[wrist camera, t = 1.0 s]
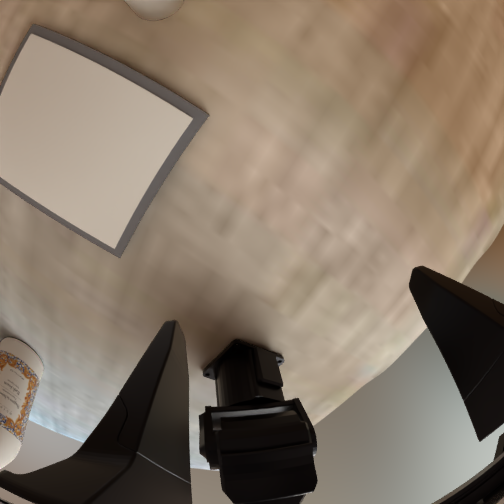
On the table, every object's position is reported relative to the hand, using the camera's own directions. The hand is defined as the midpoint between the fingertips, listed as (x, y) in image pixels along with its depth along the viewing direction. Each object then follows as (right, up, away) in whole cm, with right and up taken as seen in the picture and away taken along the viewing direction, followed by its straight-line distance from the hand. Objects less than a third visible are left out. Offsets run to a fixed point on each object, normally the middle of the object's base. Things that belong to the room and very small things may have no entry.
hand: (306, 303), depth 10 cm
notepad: (-15, +10, +6) cm, 18 cm away
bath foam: (-31, -11, +15) cm, 36 cm away
